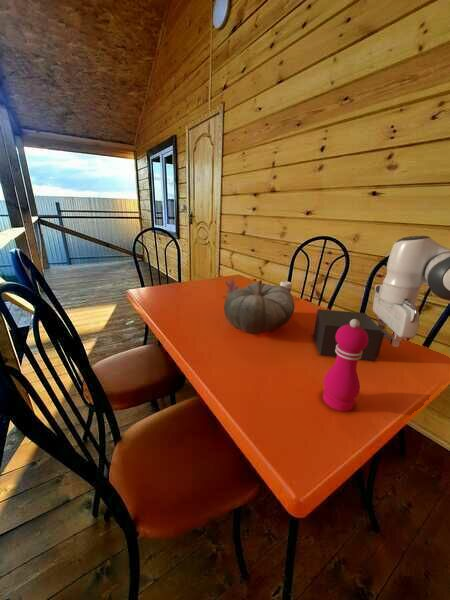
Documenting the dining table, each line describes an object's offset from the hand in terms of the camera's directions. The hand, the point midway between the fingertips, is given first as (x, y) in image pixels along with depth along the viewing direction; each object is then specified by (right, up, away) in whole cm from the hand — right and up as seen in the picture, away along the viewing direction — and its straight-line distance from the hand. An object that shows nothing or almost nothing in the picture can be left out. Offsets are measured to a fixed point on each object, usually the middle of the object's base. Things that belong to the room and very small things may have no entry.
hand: (387, 337), depth 77 cm
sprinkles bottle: (-25, +6, +28) cm, 38 cm away
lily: (-46, +12, +44) cm, 64 cm away
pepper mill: (-24, -11, -20) cm, 33 cm away
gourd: (-37, +2, +16) cm, 41 cm away
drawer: (-9, -3, +3) cm, 9 cm away
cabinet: (-12, -3, +3) cm, 13 cm away
